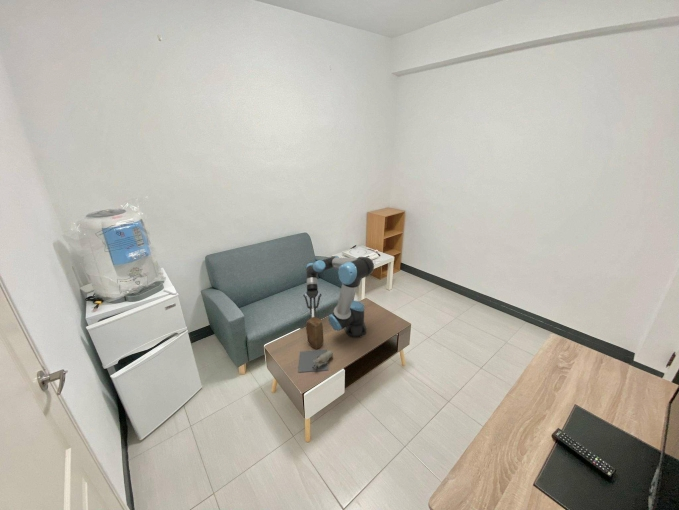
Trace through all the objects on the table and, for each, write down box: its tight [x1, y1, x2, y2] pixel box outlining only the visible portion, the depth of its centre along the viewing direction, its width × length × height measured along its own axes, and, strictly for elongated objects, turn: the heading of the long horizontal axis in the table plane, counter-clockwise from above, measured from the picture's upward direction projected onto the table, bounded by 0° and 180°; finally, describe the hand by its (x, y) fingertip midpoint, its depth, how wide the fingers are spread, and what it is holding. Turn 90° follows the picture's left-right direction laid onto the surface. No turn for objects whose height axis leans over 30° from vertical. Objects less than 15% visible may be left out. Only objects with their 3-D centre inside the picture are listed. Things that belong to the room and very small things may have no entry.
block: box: [305, 316, 324, 350], centre depth 180 cm, size 11×8×20 cm
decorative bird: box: [312, 350, 334, 372], centre depth 166 cm, size 5×16×8 cm, turn 139°
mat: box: [298, 349, 329, 374], centre depth 170 cm, size 18×17×1 cm
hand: (313, 318), depth 184 cm, fingers closed
